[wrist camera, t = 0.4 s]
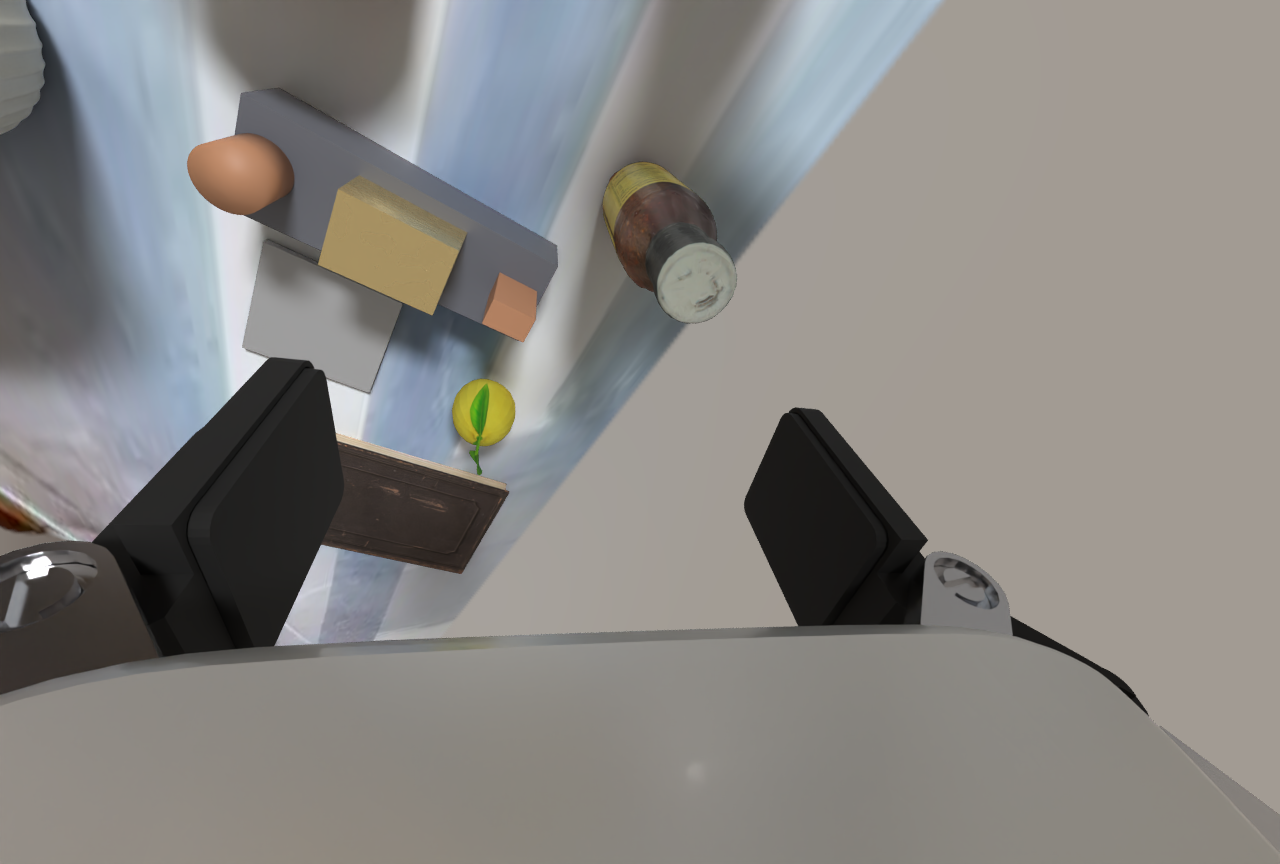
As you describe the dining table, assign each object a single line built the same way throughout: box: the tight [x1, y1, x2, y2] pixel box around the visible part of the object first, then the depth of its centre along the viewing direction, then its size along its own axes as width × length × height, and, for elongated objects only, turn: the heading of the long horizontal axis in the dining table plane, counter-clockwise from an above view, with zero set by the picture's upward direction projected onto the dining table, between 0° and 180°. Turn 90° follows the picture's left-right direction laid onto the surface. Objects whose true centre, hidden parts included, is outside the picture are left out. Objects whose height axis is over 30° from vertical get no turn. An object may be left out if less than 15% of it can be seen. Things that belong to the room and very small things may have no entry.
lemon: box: [452, 379, 515, 475], centre depth 44 cm, size 7×6×10 cm
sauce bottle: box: [603, 162, 737, 323], centre depth 31 cm, size 7×6×20 cm
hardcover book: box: [321, 433, 509, 574], centre depth 54 cm, size 16×23×2 cm
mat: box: [242, 240, 403, 393], centre depth 41 cm, size 10×10×1 cm
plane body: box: [187, 88, 558, 342], centre depth 34 cm, size 7×20×10 cm, turn 57°
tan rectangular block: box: [318, 175, 467, 315], centre depth 32 cm, size 5×7×4 cm
